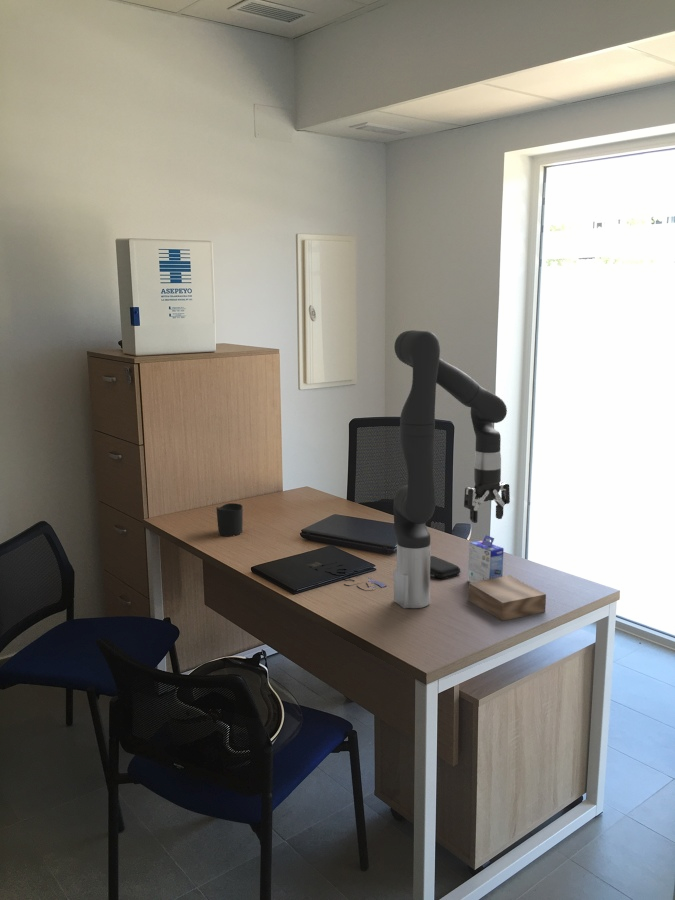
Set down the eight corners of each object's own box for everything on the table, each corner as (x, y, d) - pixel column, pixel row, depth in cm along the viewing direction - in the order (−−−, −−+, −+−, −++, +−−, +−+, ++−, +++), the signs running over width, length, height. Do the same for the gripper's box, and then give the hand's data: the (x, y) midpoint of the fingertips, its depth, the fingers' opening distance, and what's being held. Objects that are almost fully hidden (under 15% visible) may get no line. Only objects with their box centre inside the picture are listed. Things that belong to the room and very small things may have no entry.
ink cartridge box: (503, 587, 227) (505, 540, 224) (489, 591, 224) (490, 543, 221) (480, 577, 235) (481, 531, 232) (466, 581, 232) (467, 534, 229)
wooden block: (502, 620, 204) (502, 602, 203) (468, 599, 218) (468, 582, 217) (545, 611, 209) (545, 594, 208) (509, 591, 223) (510, 575, 223)
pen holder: (245, 535, 279) (244, 509, 278) (218, 538, 277) (217, 511, 275) (241, 528, 288) (240, 502, 286) (216, 530, 286) (215, 504, 284)
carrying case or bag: (406, 569, 244) (436, 582, 232) (406, 559, 244) (436, 573, 232) (432, 562, 250) (463, 575, 238) (432, 553, 249) (463, 566, 237)
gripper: (474, 471, 216) (473, 527, 219) (516, 466, 222) (514, 520, 225) (459, 466, 223) (458, 520, 226) (500, 461, 229) (499, 514, 232)
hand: (486, 520), depth 226 cm, fingers open, 8 cm apart
